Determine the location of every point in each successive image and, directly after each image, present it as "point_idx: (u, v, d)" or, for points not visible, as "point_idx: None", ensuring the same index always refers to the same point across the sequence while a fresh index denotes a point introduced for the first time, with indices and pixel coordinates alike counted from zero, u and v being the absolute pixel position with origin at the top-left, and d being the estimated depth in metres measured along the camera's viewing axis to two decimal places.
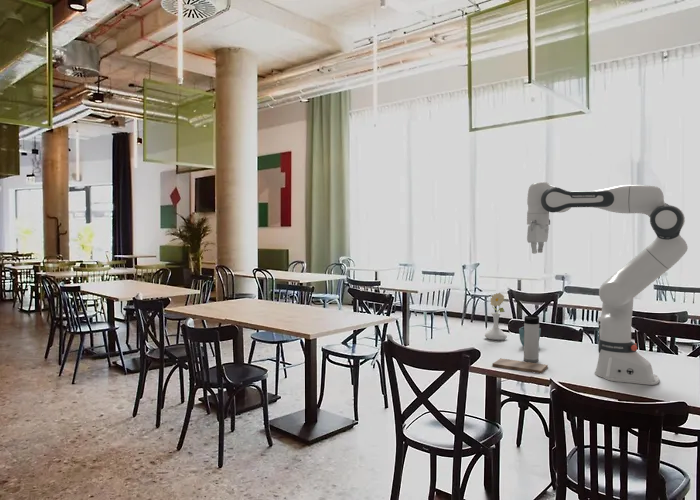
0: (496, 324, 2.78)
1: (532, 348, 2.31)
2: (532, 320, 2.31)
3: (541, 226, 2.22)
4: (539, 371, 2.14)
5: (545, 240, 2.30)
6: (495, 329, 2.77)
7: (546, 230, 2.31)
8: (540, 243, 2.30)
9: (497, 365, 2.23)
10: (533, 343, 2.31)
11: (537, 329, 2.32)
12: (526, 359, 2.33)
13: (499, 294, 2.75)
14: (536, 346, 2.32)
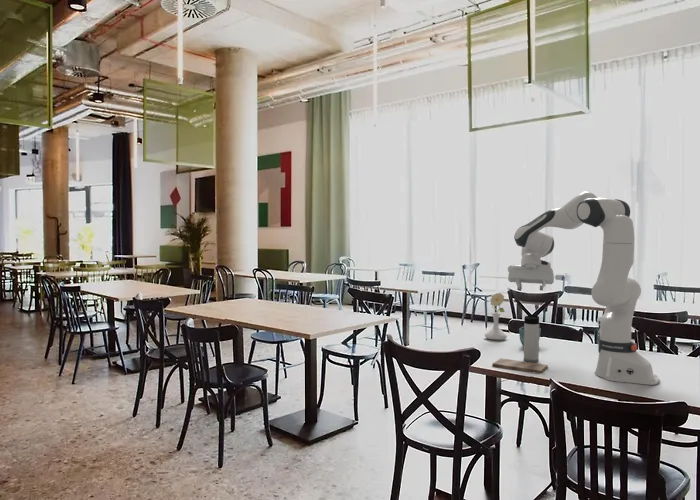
0: (496, 324, 2.78)
1: (532, 348, 2.31)
2: (532, 320, 2.31)
3: (525, 267, 2.50)
4: (539, 371, 2.14)
5: (545, 278, 2.44)
6: (495, 329, 2.77)
7: (548, 271, 2.47)
8: (542, 283, 2.45)
9: (497, 365, 2.23)
10: (533, 343, 2.31)
11: (537, 329, 2.32)
12: (526, 359, 2.33)
13: (499, 294, 2.75)
14: (536, 346, 2.32)
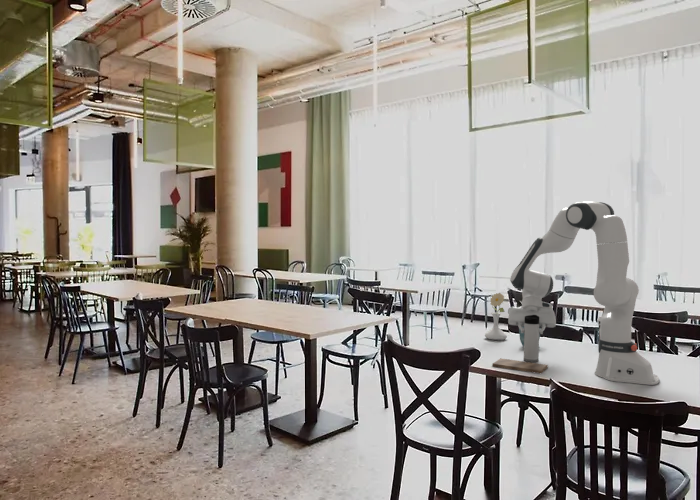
0: (496, 324, 2.78)
1: (532, 348, 2.31)
2: (532, 320, 2.31)
3: (526, 309, 2.40)
4: (539, 371, 2.14)
5: (546, 321, 2.34)
6: (495, 329, 2.77)
7: (549, 313, 2.36)
8: (541, 326, 2.35)
9: (497, 365, 2.23)
10: (533, 343, 2.31)
11: (538, 329, 2.32)
12: (526, 359, 2.33)
13: (499, 294, 2.75)
14: (536, 346, 2.32)
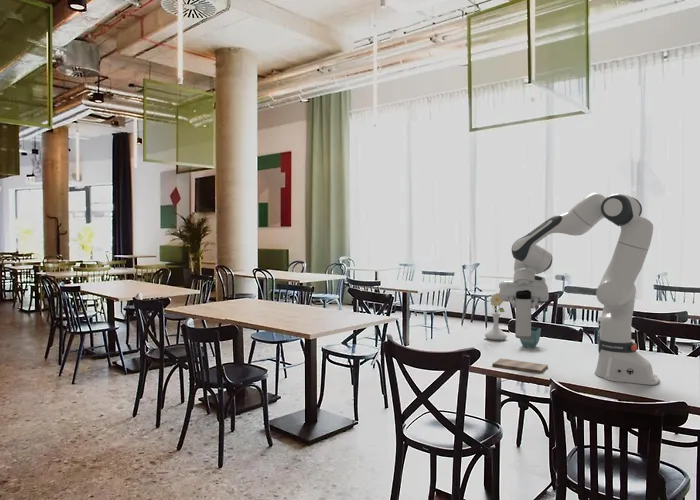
0: (496, 324, 2.78)
1: (524, 324, 2.22)
2: (524, 295, 2.22)
3: (518, 283, 2.31)
4: (539, 371, 2.14)
5: (539, 295, 2.25)
6: (495, 329, 2.77)
7: (542, 287, 2.27)
8: (534, 300, 2.26)
9: (497, 365, 2.23)
10: (525, 319, 2.22)
11: (529, 304, 2.22)
12: (518, 336, 2.24)
13: None
14: (528, 322, 2.22)
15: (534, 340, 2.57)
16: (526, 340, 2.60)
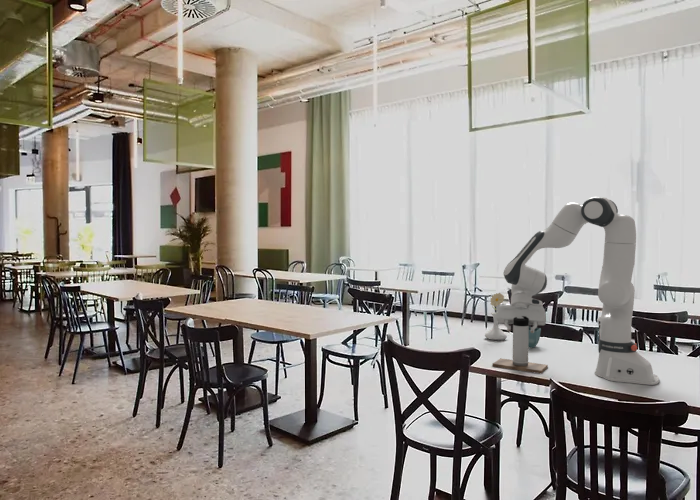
0: (496, 324, 2.78)
1: (521, 351, 2.20)
2: (521, 322, 2.20)
3: (515, 306, 2.29)
4: (539, 371, 2.14)
5: (536, 319, 2.23)
6: (495, 329, 2.77)
7: (539, 311, 2.25)
8: (533, 324, 2.23)
9: (497, 365, 2.23)
10: (522, 346, 2.20)
11: (527, 331, 2.20)
12: (515, 363, 2.22)
13: (499, 294, 2.75)
14: (525, 349, 2.20)
15: (534, 340, 2.57)
16: None
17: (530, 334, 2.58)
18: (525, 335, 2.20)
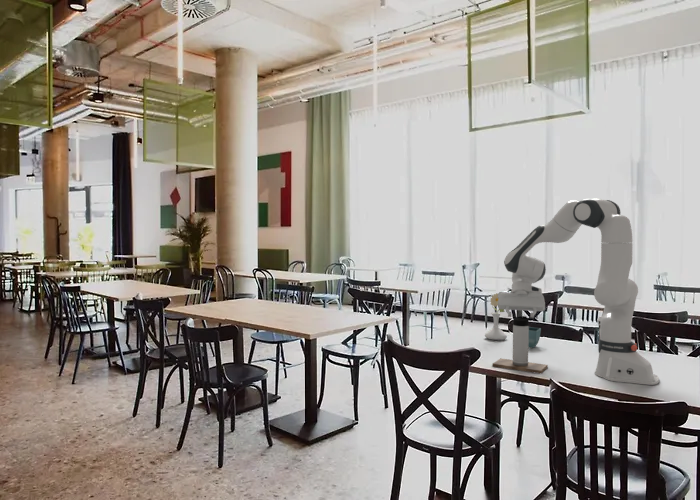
0: (496, 324, 2.78)
1: (521, 351, 2.20)
2: (521, 322, 2.20)
3: (515, 293, 2.41)
4: (539, 371, 2.14)
5: (535, 305, 2.35)
6: (495, 329, 2.77)
7: (538, 297, 2.37)
8: (533, 310, 2.36)
9: (497, 365, 2.23)
10: (522, 346, 2.20)
11: (527, 331, 2.20)
12: (515, 363, 2.22)
13: None
14: (525, 349, 2.20)
15: (534, 340, 2.57)
16: None
17: (530, 334, 2.58)
18: (525, 335, 2.20)
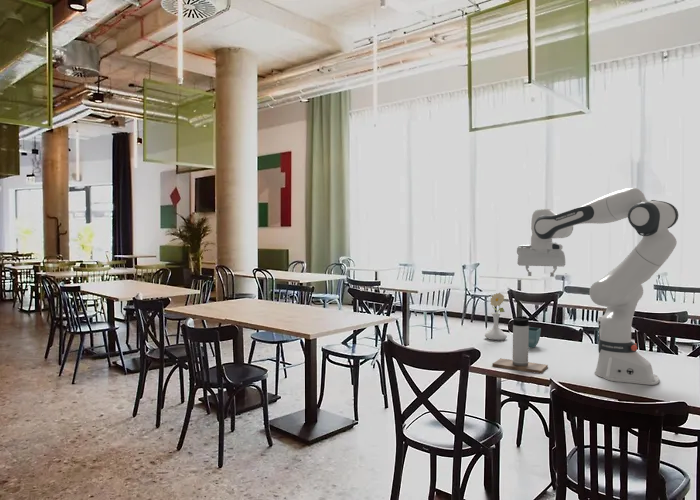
0: (496, 324, 2.78)
1: (521, 351, 2.20)
2: (521, 322, 2.20)
3: (535, 251, 2.35)
4: (539, 371, 2.14)
5: (556, 265, 2.33)
6: (495, 329, 2.77)
7: (559, 255, 2.33)
8: (553, 267, 2.35)
9: (497, 365, 2.23)
10: (522, 346, 2.20)
11: (527, 331, 2.20)
12: (515, 363, 2.22)
13: (499, 294, 2.75)
14: (525, 349, 2.20)
15: (534, 340, 2.57)
16: None
17: (530, 334, 2.58)
18: (525, 335, 2.20)
